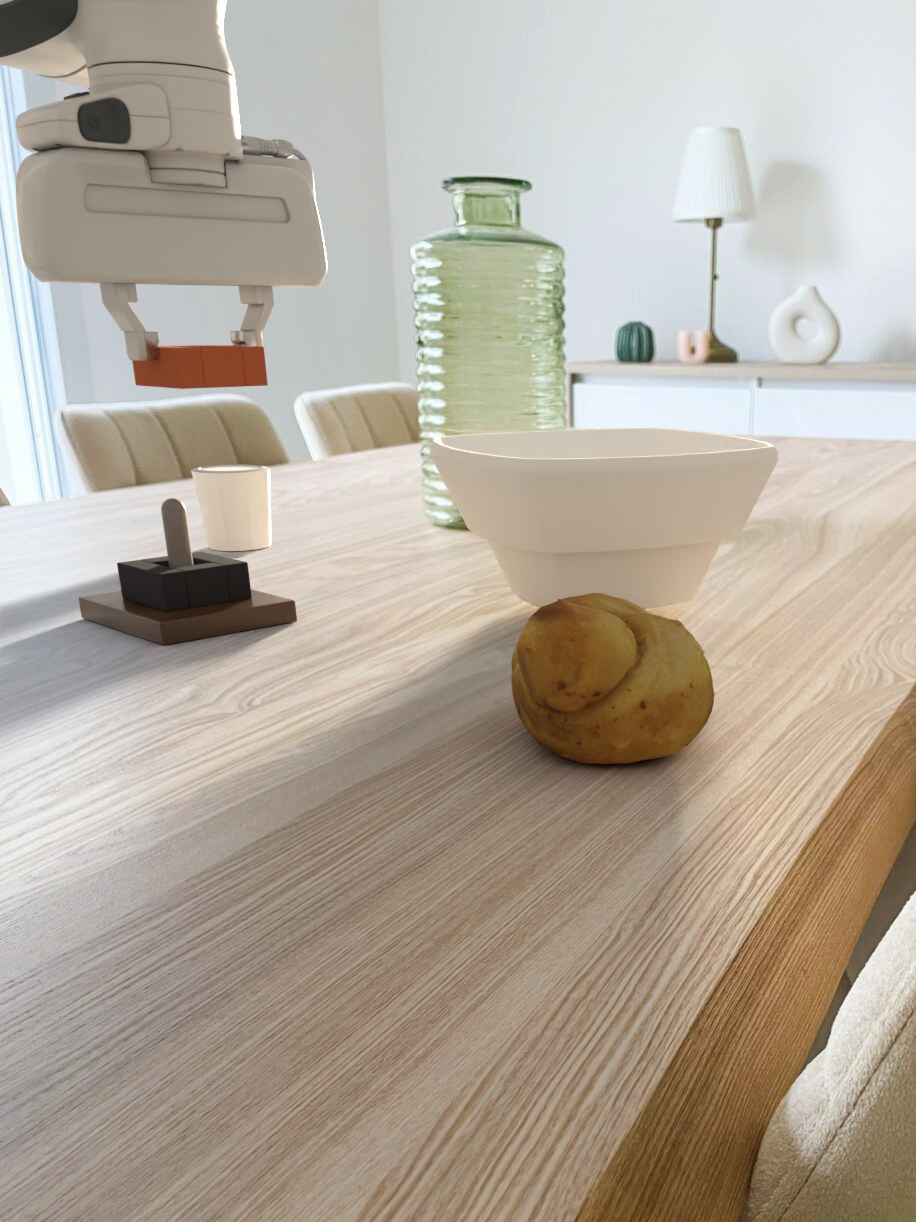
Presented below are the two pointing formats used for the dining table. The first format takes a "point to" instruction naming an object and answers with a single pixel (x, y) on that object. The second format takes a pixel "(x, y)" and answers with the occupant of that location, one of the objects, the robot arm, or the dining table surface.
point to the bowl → (604, 506)
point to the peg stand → (191, 620)
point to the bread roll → (609, 681)
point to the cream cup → (234, 506)
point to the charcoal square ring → (184, 582)
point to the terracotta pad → (203, 367)
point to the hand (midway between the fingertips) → (197, 359)
